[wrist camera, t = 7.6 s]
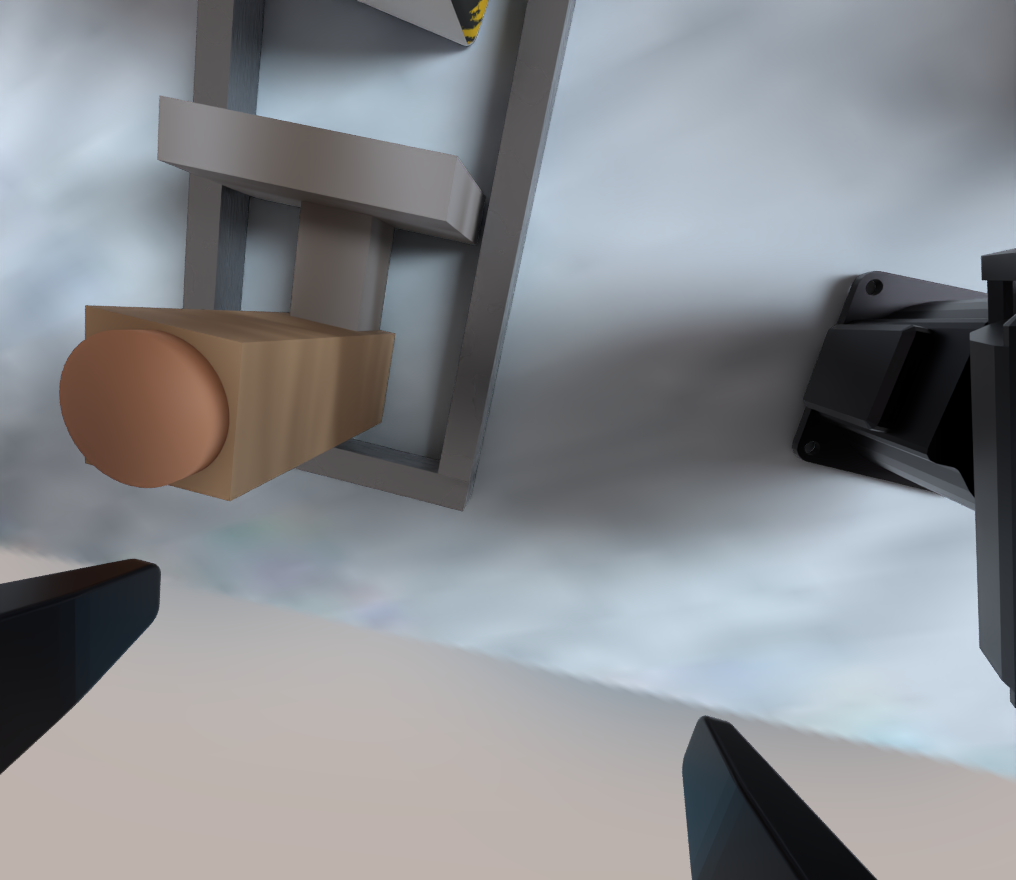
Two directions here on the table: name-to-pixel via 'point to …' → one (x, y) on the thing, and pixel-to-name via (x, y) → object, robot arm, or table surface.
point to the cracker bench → (449, 482)
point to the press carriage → (263, 335)
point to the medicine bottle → (438, 16)
